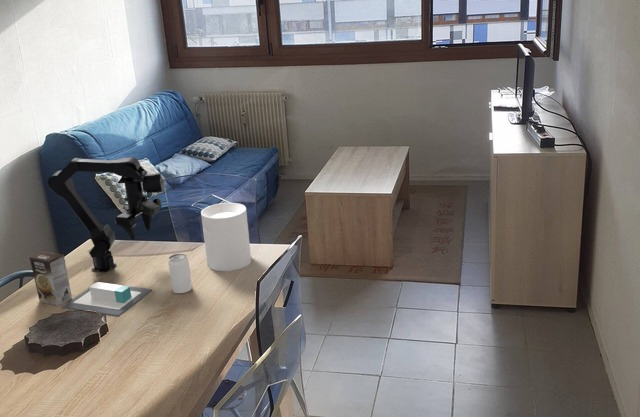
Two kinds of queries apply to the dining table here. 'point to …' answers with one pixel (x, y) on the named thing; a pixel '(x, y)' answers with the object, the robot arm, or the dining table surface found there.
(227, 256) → the canister
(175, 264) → the can
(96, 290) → the marker
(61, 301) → the coffee box
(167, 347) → the dining table surface
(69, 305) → the desk mat
